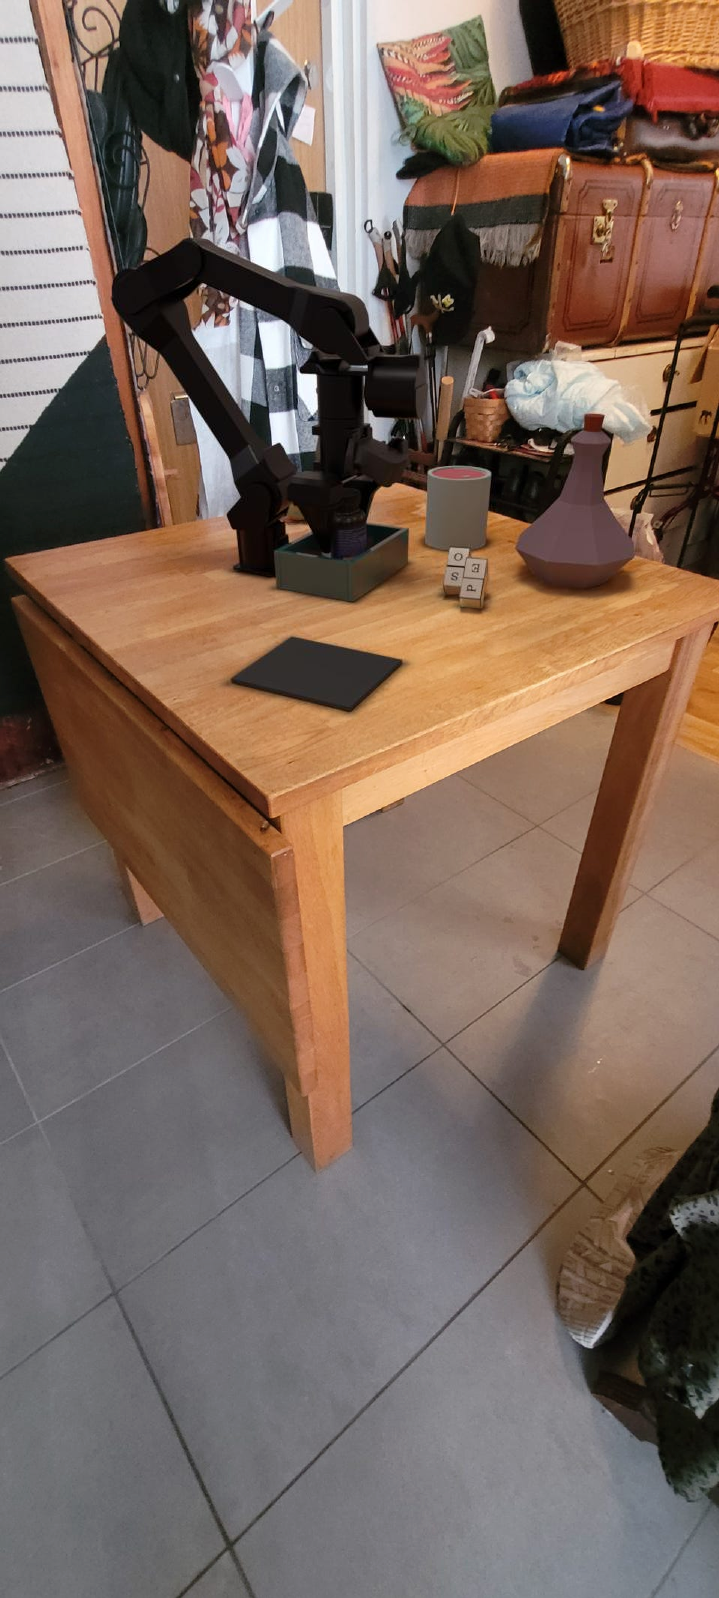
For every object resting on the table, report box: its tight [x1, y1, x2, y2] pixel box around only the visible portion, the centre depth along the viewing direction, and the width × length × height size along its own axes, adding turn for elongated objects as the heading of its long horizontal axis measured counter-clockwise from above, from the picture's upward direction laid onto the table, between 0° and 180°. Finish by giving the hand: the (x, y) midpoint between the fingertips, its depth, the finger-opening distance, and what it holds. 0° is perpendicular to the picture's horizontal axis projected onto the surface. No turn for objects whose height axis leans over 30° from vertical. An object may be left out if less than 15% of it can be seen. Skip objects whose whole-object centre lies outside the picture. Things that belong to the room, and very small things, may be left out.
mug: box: [424, 465, 492, 552], centre depth 117 cm, size 14×9×10 cm
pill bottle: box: [322, 488, 367, 561], centre depth 103 cm, size 6×6×11 cm
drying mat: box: [230, 636, 403, 712], centre depth 81 cm, size 14×12×1 cm
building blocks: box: [442, 546, 490, 609], centre depth 97 cm, size 5×5×8 cm
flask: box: [514, 412, 636, 590], centre depth 99 cm, size 16×16×20 cm
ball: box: [286, 503, 306, 521], centre depth 127 cm, size 7×7×7 cm
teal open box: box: [274, 521, 410, 603], centre depth 104 cm, size 12×17×5 cm
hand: (343, 543), depth 103 cm, fingers open, 9 cm apart
